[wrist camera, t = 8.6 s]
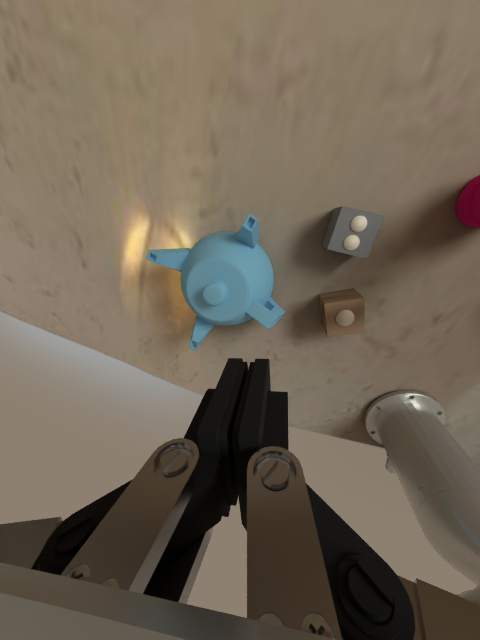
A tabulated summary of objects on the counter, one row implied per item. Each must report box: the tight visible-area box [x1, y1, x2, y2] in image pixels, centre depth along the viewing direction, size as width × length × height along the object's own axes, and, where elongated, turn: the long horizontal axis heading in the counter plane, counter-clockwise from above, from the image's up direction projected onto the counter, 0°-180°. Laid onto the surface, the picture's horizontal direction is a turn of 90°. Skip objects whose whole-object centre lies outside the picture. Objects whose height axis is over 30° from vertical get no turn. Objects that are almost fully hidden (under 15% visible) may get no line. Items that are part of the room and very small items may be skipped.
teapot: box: [146, 214, 286, 351], centre depth 34 cm, size 15×15×11 cm
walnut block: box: [319, 289, 365, 336], centre depth 35 cm, size 5×5×5 cm
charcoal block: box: [322, 206, 385, 259], centre depth 31 cm, size 5×5×5 cm
